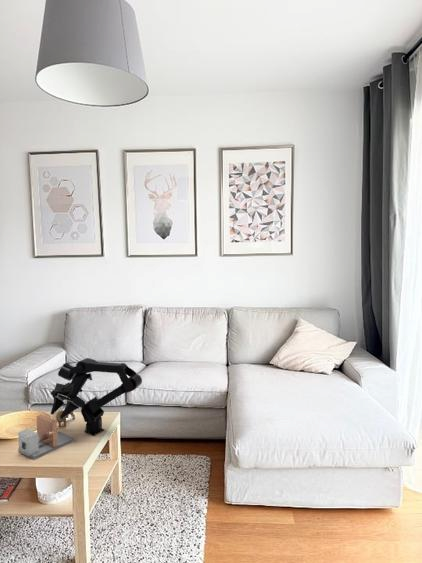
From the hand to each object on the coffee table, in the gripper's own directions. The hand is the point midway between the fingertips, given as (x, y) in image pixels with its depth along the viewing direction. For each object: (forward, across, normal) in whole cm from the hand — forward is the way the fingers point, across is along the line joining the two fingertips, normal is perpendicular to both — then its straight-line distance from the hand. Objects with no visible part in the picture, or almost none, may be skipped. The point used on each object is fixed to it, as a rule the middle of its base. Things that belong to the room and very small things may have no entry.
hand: (56, 416), depth 164 cm
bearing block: (+16, 0, -2) cm, 17 cm away
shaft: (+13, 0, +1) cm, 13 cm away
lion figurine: (-1, -12, +18) cm, 21 cm away
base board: (+11, 0, +5) cm, 12 cm away
